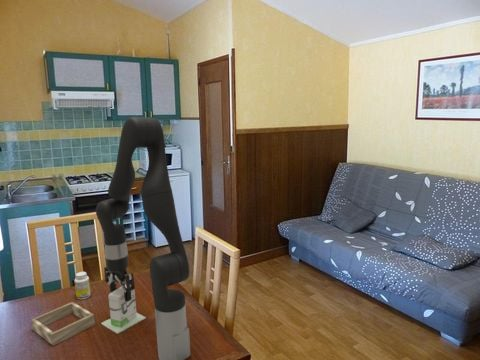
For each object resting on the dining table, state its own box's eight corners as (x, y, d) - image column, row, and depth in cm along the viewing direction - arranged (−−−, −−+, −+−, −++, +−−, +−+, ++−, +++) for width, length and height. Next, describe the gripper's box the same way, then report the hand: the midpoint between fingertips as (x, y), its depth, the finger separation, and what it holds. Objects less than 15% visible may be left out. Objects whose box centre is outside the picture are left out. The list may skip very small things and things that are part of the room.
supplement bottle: (83, 292, 160) (80, 269, 158) (93, 294, 158) (91, 271, 156) (73, 298, 155) (70, 275, 153) (84, 301, 153) (81, 277, 151)
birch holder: (94, 324, 136) (93, 314, 135) (53, 345, 125) (51, 334, 124) (73, 311, 145) (72, 301, 144) (32, 329, 134) (31, 319, 133)
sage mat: (145, 318, 139) (145, 317, 139) (117, 334, 130) (117, 332, 130) (129, 309, 145) (129, 308, 145) (101, 324, 136) (100, 323, 136)
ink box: (121, 328, 133) (118, 297, 130) (110, 325, 135) (107, 294, 132) (137, 315, 140) (134, 286, 138) (126, 313, 142) (124, 284, 140)
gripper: (138, 255, 131) (141, 298, 134) (113, 247, 140) (117, 288, 143) (119, 262, 125) (124, 307, 128) (95, 253, 134) (100, 296, 137)
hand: (120, 297), depth 135 cm, fingers open, 8 cm apart
